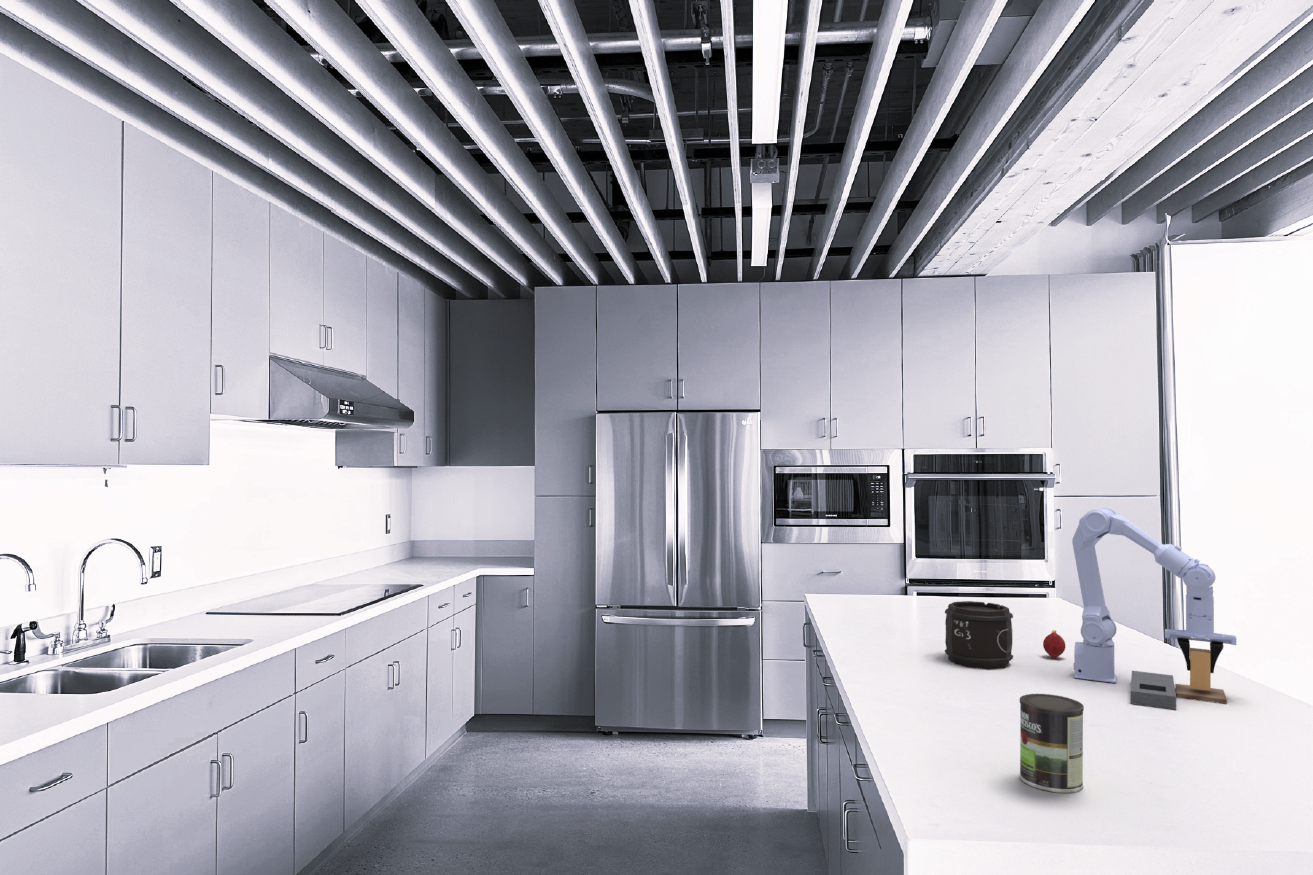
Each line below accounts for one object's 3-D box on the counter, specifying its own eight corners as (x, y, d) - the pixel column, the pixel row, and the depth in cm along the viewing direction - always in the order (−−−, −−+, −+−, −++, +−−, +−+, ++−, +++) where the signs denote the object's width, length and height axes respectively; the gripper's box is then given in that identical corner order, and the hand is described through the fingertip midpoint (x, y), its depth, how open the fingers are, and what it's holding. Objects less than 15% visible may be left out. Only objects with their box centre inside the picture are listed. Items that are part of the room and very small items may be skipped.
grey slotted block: (1130, 703, 196) (1130, 690, 196) (1131, 682, 215) (1131, 670, 215) (1176, 709, 191) (1175, 696, 191) (1173, 687, 210) (1172, 675, 210)
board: (1176, 697, 201) (1176, 693, 201) (1175, 687, 210) (1175, 683, 210) (1226, 703, 196) (1226, 699, 196) (1223, 693, 205) (1223, 689, 205)
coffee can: (1039, 794, 142) (1039, 710, 143) (1008, 771, 152) (1008, 693, 153) (1096, 792, 143) (1096, 709, 143) (1062, 770, 153) (1062, 692, 154)
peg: (1190, 688, 202) (1190, 650, 202) (1190, 684, 206) (1189, 647, 206) (1210, 690, 200) (1210, 652, 200) (1209, 686, 204) (1209, 649, 204)
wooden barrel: (1010, 657, 241) (1010, 602, 241) (1015, 672, 224) (1015, 613, 224) (944, 652, 247) (944, 598, 247) (944, 666, 230) (944, 608, 230)
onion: (1068, 661, 237) (1067, 632, 237) (1046, 659, 238) (1046, 631, 238) (1062, 656, 242) (1062, 628, 242) (1041, 655, 243) (1040, 627, 244)
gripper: (1165, 614, 204) (1165, 670, 203) (1237, 620, 196) (1237, 678, 196) (1164, 609, 210) (1164, 664, 209) (1234, 615, 202) (1235, 672, 202)
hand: (1200, 670), depth 203 cm, fingers closed on peg, 4 cm apart
